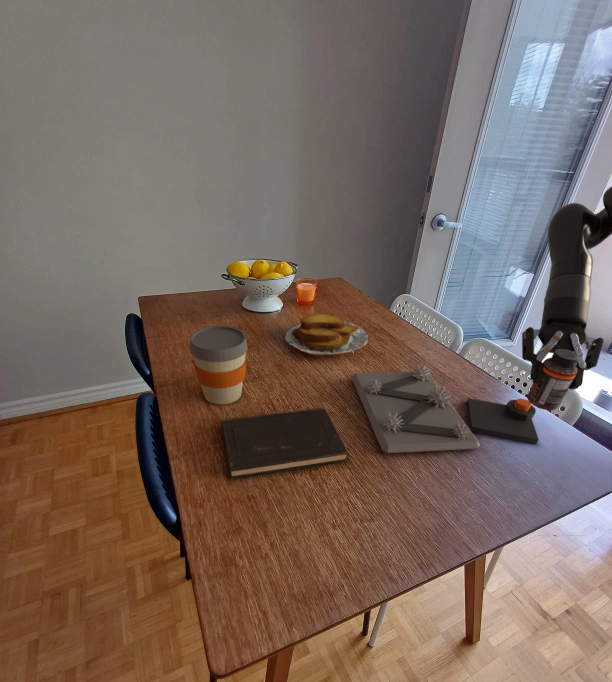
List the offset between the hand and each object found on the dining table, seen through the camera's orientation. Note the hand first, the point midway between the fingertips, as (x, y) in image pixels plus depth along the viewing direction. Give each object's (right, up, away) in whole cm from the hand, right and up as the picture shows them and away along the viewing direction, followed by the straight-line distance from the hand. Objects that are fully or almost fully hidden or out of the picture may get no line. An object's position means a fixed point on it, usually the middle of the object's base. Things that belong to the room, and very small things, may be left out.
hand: (555, 385), depth 76 cm
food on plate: (-41, +16, +46) cm, 64 cm away
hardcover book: (-53, -12, +7) cm, 54 cm away
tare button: (+3, -4, +18) cm, 18 cm away
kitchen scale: (-2, -8, +17) cm, 19 cm away
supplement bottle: (0, -3, +5) cm, 6 cm away
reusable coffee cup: (-68, -1, +21) cm, 71 cm away
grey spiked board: (-23, -5, +19) cm, 30 cm away
